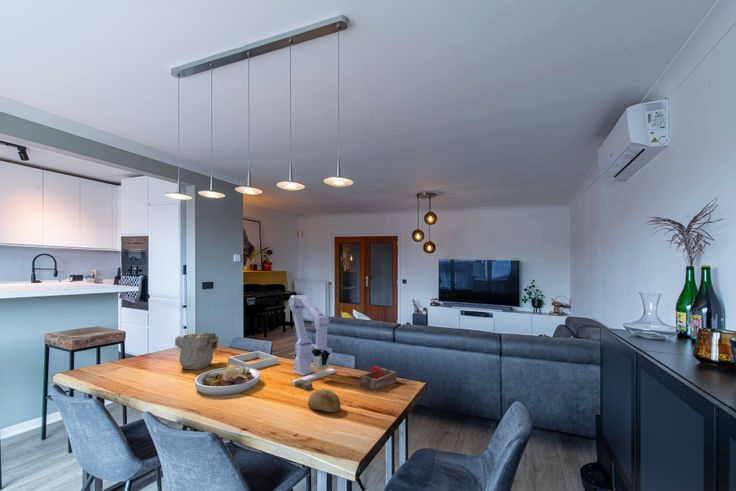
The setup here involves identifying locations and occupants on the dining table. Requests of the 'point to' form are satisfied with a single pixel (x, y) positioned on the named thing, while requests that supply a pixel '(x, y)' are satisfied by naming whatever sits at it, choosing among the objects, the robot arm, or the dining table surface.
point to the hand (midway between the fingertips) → (320, 364)
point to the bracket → (378, 373)
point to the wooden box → (378, 383)
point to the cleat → (303, 384)
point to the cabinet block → (319, 363)
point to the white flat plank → (316, 375)
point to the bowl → (227, 380)
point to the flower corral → (265, 357)
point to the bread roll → (324, 401)
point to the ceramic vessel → (196, 349)
